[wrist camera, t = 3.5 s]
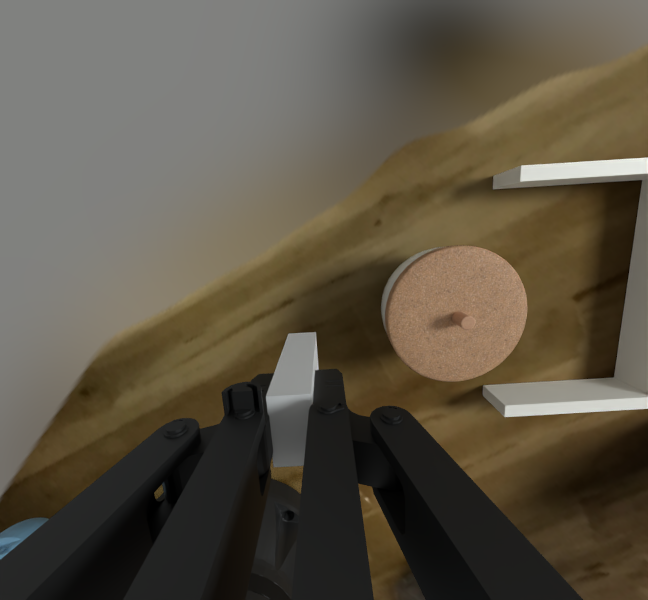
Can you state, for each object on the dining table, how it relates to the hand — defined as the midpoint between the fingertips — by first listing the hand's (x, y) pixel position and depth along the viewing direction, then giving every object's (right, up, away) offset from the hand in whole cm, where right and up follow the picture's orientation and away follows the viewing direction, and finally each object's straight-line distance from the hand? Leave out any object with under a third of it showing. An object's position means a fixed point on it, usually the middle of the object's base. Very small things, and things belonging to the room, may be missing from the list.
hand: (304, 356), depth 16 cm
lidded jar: (+11, +3, +14) cm, 18 cm away
